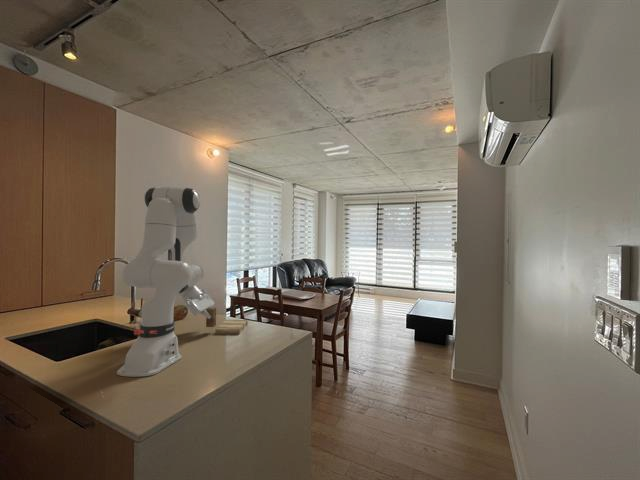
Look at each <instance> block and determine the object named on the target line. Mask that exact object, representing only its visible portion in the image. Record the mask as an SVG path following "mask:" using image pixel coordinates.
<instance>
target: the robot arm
mask: <svg viewBox="0 0 640 480" xmlns="http://www.w3.org/2000/svg"><path fill="white" fill-rule="evenodd" d="M144 203H145V206H146V207H147V211H146V214H145V218H144V219H145V220H144V221H145V222H144V233H143V234H144V235H143V240H142V241H143V242H142V245H141V248H140V249H139V252H138V253H137V255H136V256H135V257H134V258H133V259H132V260H131V261H129V262H127V263H126V264H125V266H124V268H123V269H122V275H121V277H122V279H123V282H124V283H125V285H127V286H131V287H134V288H139V289H155V293H154V296H152V297H149V298H148V299H146V300H145V301H144V302H143V304H142V305H141V323H140V325H139V328H135V329H134V331H133V334H134V335H135V336H137V338H136V340H135V341H134V342H133V344H132V346H131V347H129V350H128V352H127V353H126V354H125V360H124V364H123V365H122V366H121V367H120V368H119V369H118V370H117V371H116V375H118V376H121V377H131V378H133V377H134V378H136V377H138V378H139V377H149V376H154V375H156V374H158V373H160V372H161V371H163V370H165V369H166V368H168V367H170V366H171V365H172V364H174V363H176V362H178V361H180V360H181V359H182V358H183V357H182V355H181V353H180V352H179V341H178V337H177V335H176V334H175V326H176V323H175V321H174V320H173V313H174V306H175V302H176V299H177V297H178V295H180V298H181V299H182V300H183V301H184V303H185V304H186V307H187V309H188V311H189V312H190V313H191V314H193V316H195V317H197V316H199V315H203V316H204V317H205V318H206V317H207V318H208V319H210V318H211V317H212V315H211V314H209V313H208V312H207V311H206V310H207V309H208V308H214V306H215V305H216V304H215V301H214V300H213V299H212V297H211V296H210V295H209V294H207V291H206V290H204V289H201V288H199V287H198V286H197V285H196V284H198V283H199V282H200V281H201V280H203V277H204V272H203V269H202V267H200V265H198V264H197V263H192V264H189V263H188V262H185V261H183V254H184V253H185V250H186V249H187V248H188V247H189V246H190V245H191V244H192V243H193V242H194V241H195V239H197V237H198V234H199V224H198V218H197V213H196V212H197V210H199V207H200V205H201V198H200V195H199V193H198V192H197V190H196V189H194V188H190V187H189V188H188V187H186V188H184V187H173V186H163V187H162V186H161V187H157V186H155V187H151V188H149V189H148V190H146V192H145V193H144ZM165 252H167V260H166V259H165V260H164V259H163V260H162V258H163V255H164V254H165Z"/></svg>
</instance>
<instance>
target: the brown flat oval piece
mask: <svg viewBox="0 0 640 480" xmlns="http://www.w3.org/2000/svg"><path fill="white" fill-rule="evenodd" d="M188 313H189V309H188V307H187V305H184V304H178V305H174V313H173V320H177V321H180V320H179V319H182V320H184V319H185V318H186V317H187V316H188ZM183 318H184V319H183Z"/></svg>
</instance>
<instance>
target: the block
mask: <svg viewBox="0 0 640 480" xmlns="http://www.w3.org/2000/svg"><path fill="white" fill-rule="evenodd" d="M206 311H207V312H208V313H209V314H211V315H212V317H211V318H210V319H208V318H207V317H206V316H205V318H206V319H205V321H206V322H205V323H206V324H205V327H206V328H214V327H215V326H217V307H212V308H208V309H207V310H206Z"/></svg>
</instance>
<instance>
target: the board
mask: <svg viewBox="0 0 640 480" xmlns="http://www.w3.org/2000/svg"><path fill="white" fill-rule="evenodd" d="M248 321H249V320H248V319H225V320H223V322H221V323H220V324H219V325H218V326H217V327H216V328H215V333H214V334H215V335H240V334H241V333H242V332H243V331H244V330H245V328H247V326H248V325H249V324H248Z"/></svg>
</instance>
